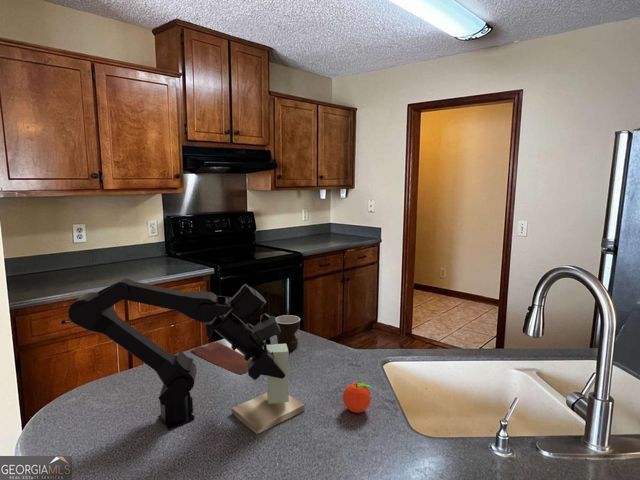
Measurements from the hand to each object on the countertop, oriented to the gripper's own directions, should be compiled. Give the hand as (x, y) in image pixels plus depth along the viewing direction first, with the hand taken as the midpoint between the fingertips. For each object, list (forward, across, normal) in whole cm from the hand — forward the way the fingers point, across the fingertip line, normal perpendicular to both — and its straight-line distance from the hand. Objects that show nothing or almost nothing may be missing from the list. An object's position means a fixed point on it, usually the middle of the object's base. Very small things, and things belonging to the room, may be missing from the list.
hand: (282, 371), depth 101 cm
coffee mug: (+12, +37, +2) cm, 39 cm away
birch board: (+4, -2, +9) cm, 10 cm away
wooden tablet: (-3, +32, +18) cm, 37 cm away
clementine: (+20, -5, -6) cm, 21 cm away
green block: (+4, 0, +6) cm, 7 cm away
